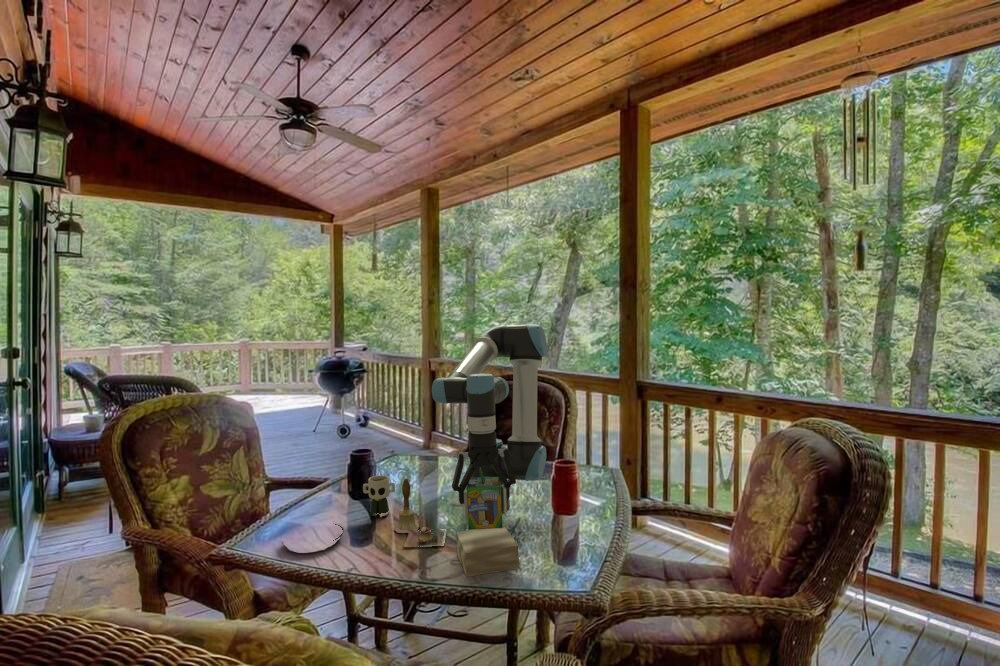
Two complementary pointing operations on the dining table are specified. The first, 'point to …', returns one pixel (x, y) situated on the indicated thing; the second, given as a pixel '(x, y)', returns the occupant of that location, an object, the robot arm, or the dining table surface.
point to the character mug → (379, 493)
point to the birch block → (487, 551)
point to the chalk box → (484, 502)
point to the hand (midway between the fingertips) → (485, 512)
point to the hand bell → (406, 511)
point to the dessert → (430, 536)
